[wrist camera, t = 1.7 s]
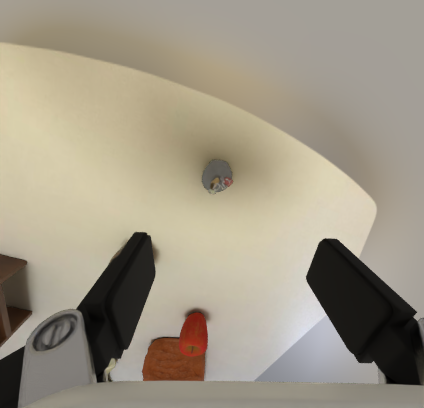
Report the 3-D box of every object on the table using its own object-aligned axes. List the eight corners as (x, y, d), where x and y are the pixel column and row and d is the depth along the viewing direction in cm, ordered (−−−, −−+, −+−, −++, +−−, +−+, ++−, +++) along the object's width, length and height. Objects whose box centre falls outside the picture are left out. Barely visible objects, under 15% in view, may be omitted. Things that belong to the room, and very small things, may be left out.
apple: (191, 303, 39) (186, 341, 32) (213, 312, 40) (213, 350, 34) (178, 317, 41) (171, 355, 34) (199, 325, 43) (197, 363, 36)
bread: (156, 381, 56) (144, 434, 46) (147, 336, 45) (130, 394, 35) (202, 382, 56) (200, 435, 47) (206, 338, 45) (204, 395, 35)
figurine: (208, 153, 25) (207, 161, 19) (236, 163, 25) (243, 173, 20) (198, 186, 27) (195, 201, 21) (224, 194, 27) (227, 211, 22)
